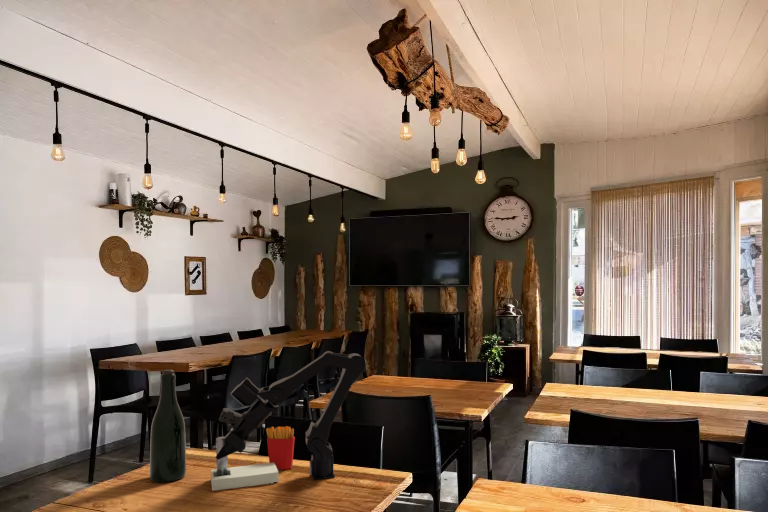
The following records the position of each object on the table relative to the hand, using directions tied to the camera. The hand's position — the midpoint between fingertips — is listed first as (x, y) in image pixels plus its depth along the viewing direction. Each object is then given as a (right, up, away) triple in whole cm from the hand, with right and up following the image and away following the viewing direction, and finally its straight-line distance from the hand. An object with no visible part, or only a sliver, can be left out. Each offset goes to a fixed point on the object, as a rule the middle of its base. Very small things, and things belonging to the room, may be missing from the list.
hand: (217, 456), depth 170 cm
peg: (+1, -7, 0) cm, 7 cm away
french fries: (+16, -9, +14) cm, 23 cm away
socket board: (+8, -8, +2) cm, 11 cm away
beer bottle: (-17, -9, +6) cm, 20 cm away
